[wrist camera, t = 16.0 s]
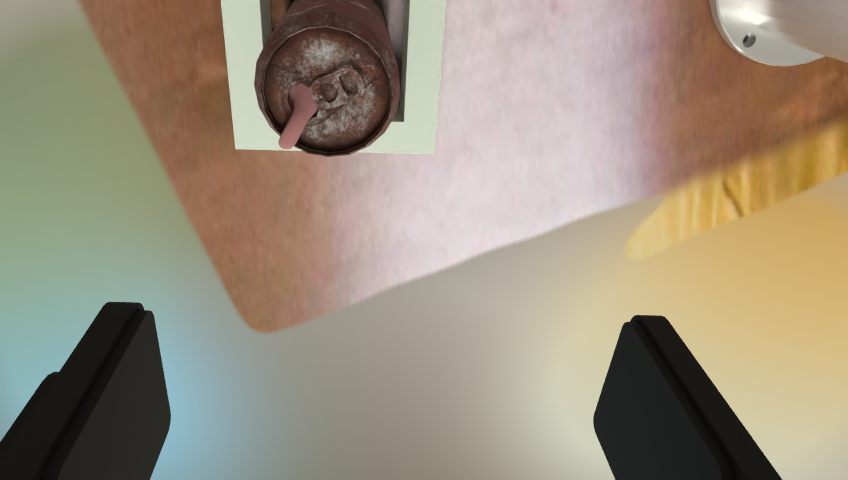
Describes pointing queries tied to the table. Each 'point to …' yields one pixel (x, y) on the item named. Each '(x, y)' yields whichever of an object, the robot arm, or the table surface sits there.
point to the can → (328, 77)
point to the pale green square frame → (419, 87)
